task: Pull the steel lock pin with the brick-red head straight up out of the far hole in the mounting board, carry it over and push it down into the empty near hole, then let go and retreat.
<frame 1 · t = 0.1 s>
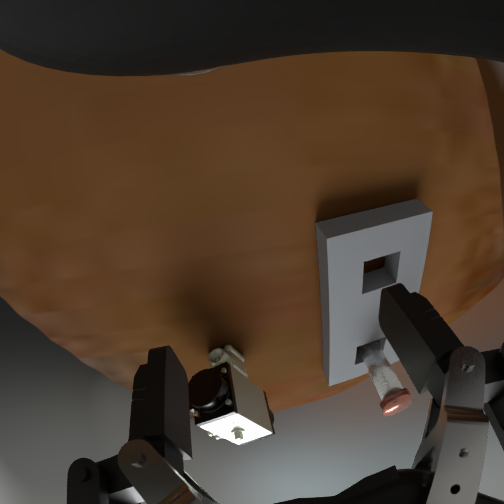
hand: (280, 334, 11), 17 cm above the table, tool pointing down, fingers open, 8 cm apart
mount board: (365, 301, 37), on the table
lock pin: (362, 335, 41), resting in mount board
pneumatic valve: (223, 354, 38), on the table
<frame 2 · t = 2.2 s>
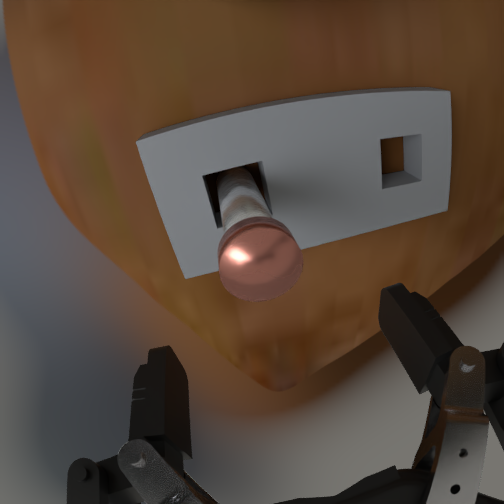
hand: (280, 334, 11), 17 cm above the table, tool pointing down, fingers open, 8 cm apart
mount board: (315, 164, 25), on the table
lock pin: (234, 182, 25), resting in mount board
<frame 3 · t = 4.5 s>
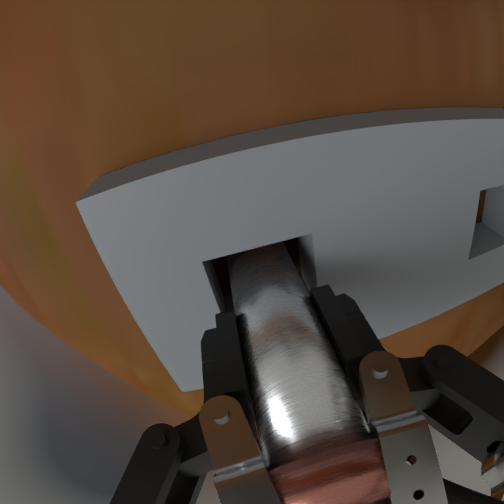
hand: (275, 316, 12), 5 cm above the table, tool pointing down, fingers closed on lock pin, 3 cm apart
mount board: (379, 221, 16), on the table
lock pin: (255, 253, 16), resting in mount board, touching gripper
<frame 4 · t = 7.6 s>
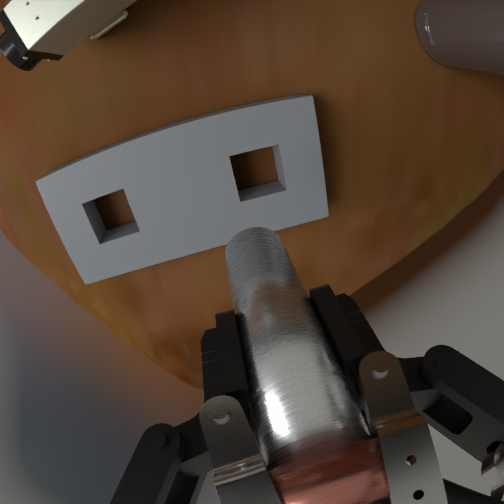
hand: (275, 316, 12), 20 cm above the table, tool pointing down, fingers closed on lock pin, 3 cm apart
mount board: (182, 184, 29), on the table
lock pin: (254, 253, 16), point 16 cm above the table, touching gripper
pneumatic valve: (103, 14, 19), on the table
when the fingers open (5 cm above the table, at t = 11.0 s): lock pin stays where it is, resting in mount board.
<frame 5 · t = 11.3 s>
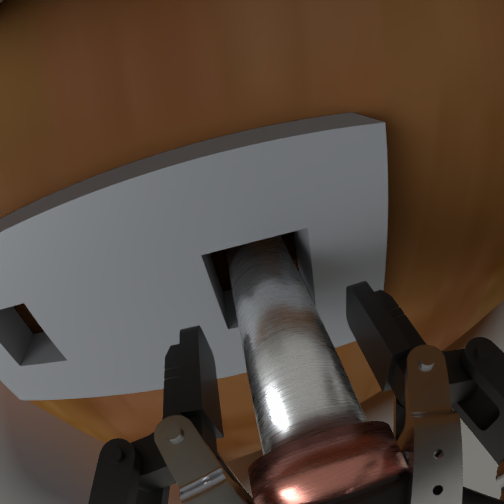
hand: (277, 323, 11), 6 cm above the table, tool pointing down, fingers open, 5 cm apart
mount board: (128, 281, 16), on the table
lock pin: (254, 248, 16), resting in mount board
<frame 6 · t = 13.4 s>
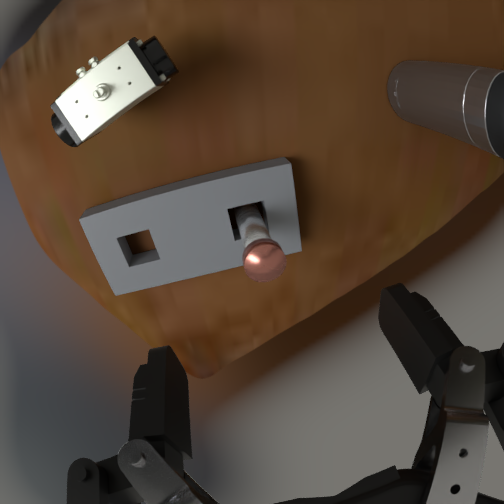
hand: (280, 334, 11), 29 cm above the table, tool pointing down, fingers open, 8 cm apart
mount board: (192, 224, 39), on the table
lock pin: (245, 211, 39), resting in mount board
pneumatic valve: (128, 86, 29), on the table
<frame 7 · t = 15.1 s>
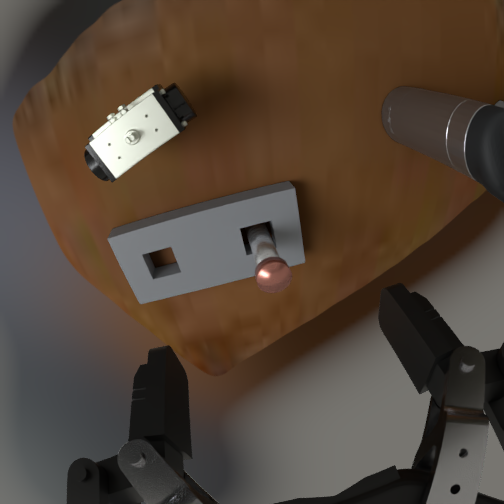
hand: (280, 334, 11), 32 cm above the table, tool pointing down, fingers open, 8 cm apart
mount board: (208, 240, 45), on the table
lock pin: (255, 228, 45), resting in mount board
coffeepot: (502, 117, 40), on the table
pneumatic valve: (148, 119, 35), on the table
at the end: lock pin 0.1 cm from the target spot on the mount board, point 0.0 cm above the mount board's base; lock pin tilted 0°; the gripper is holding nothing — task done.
